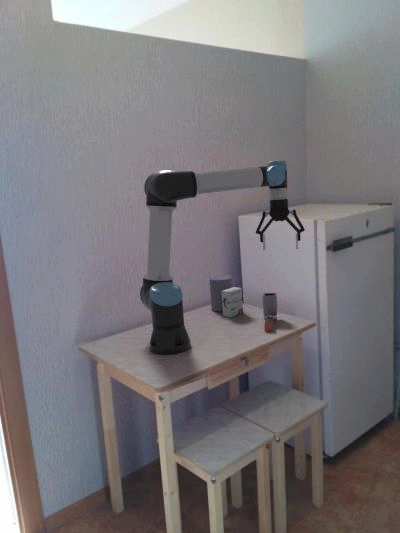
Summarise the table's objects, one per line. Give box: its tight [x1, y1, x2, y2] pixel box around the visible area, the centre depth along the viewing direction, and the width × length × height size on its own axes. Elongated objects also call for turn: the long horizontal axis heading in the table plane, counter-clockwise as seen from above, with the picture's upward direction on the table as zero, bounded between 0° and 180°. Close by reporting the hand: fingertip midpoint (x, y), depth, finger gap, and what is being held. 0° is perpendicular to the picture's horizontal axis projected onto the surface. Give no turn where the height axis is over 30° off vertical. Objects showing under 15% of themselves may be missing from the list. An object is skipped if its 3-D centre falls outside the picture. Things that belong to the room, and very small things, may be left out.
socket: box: [262, 292, 278, 316], centre depth 198 cm, size 6×6×8 cm
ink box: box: [222, 286, 244, 318], centre depth 210 cm, size 9×5×12 cm, turn 133°
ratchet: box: [263, 314, 278, 333], centre depth 193 cm, size 5×18×8 cm, turn 168°
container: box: [209, 274, 233, 312], centre depth 220 cm, size 10×10×15 cm
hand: (280, 249), depth 200 cm, fingers open, 13 cm apart
